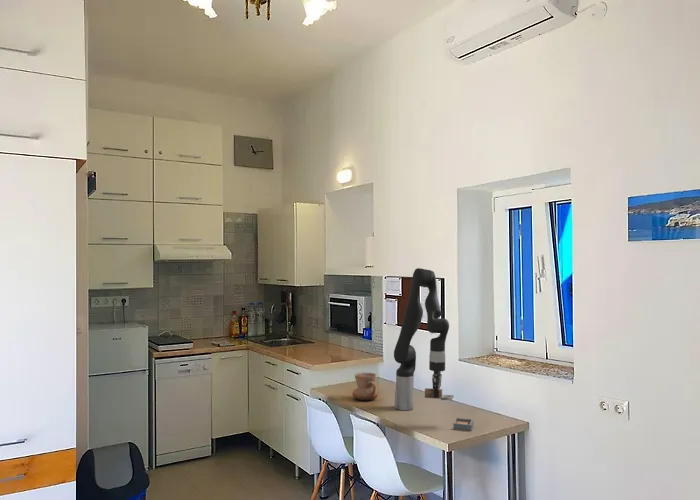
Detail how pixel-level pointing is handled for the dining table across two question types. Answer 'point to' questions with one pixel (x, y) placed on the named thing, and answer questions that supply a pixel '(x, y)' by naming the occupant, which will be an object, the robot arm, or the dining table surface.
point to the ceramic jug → (365, 386)
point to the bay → (464, 426)
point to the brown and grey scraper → (430, 394)
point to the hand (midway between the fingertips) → (436, 396)
